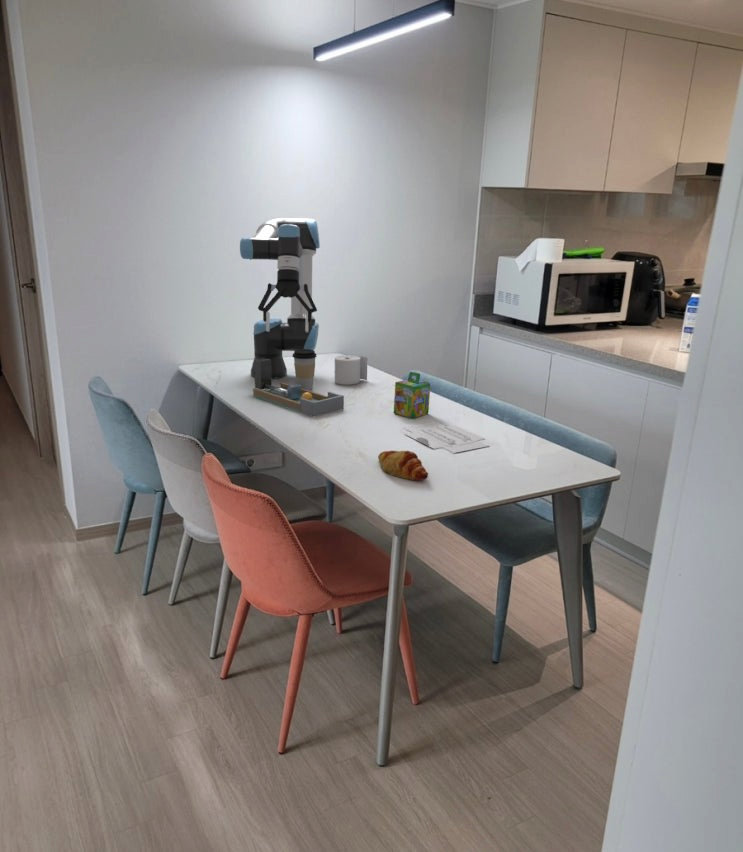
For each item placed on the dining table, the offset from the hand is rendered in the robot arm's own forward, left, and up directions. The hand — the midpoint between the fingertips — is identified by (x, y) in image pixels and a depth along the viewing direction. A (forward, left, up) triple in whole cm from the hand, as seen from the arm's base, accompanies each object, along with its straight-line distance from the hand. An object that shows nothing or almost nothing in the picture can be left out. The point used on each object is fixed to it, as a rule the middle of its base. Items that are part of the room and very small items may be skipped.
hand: (287, 331), depth 247 cm
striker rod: (-6, -14, -26) cm, 30 cm away
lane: (-6, -6, -27) cm, 29 cm away
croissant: (+16, +70, -28) cm, 77 cm away
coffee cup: (-21, -16, -28) cm, 38 cm away
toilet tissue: (-42, -13, -28) cm, 52 cm away
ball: (-6, +3, -24) cm, 25 cm away
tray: (-16, +59, -28) cm, 67 cm away
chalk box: (-27, +35, -28) cm, 52 cm away
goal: (-6, +11, -27) cm, 30 cm away
